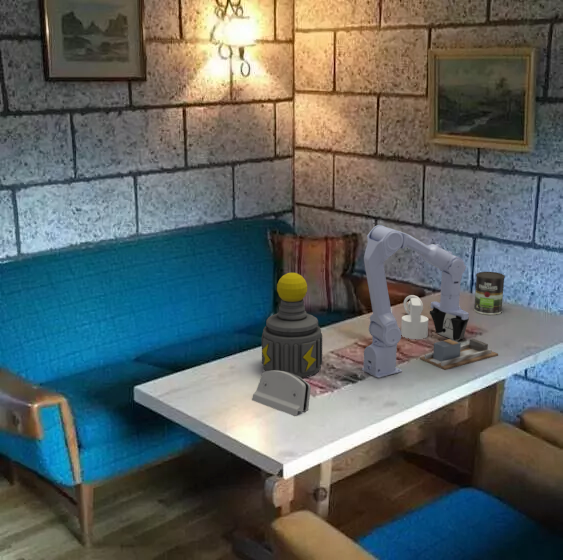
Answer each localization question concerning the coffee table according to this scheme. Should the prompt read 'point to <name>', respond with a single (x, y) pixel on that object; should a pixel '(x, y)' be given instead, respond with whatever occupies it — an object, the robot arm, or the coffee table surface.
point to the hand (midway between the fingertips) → (447, 335)
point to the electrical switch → (450, 327)
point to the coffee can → (489, 293)
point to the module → (446, 350)
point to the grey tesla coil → (292, 332)
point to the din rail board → (463, 355)
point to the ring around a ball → (409, 303)
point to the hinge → (283, 392)
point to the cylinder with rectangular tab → (414, 322)
